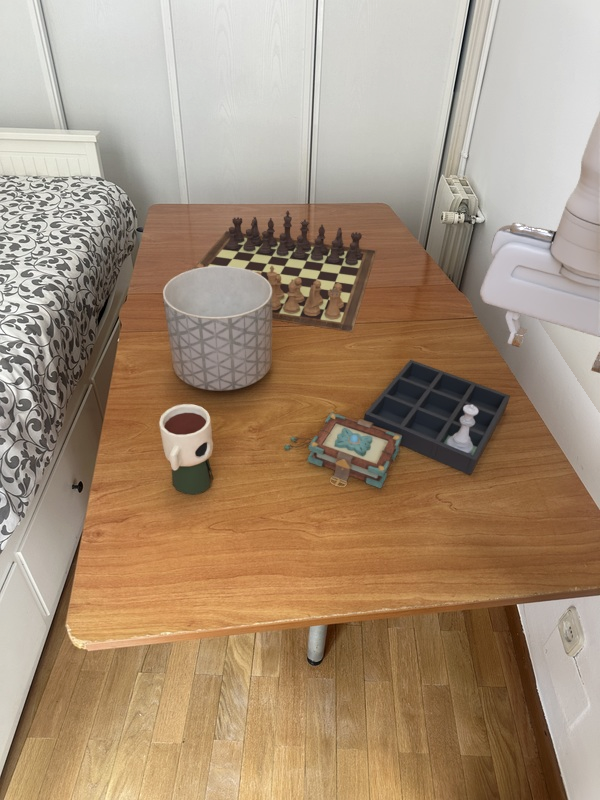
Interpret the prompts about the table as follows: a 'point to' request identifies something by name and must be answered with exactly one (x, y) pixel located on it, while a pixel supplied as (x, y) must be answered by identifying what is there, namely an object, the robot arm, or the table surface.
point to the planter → (219, 326)
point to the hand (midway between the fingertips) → (555, 356)
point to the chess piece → (464, 430)
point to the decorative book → (353, 449)
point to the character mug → (188, 446)
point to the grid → (437, 413)
